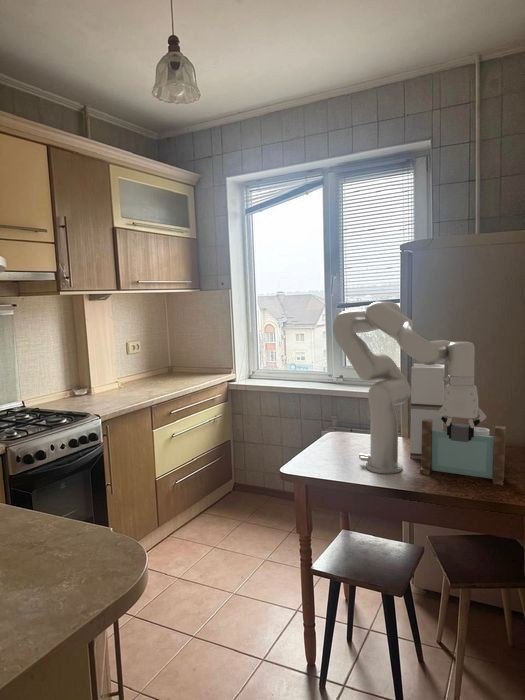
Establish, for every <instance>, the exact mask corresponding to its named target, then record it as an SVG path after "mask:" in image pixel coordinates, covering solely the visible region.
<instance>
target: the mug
mask: <svg viewBox="0 0 525 700" xmlns="http://www.w3.org/2000/svg"><path fill="white" fill-rule="evenodd" d="M474 434H475V435H484V436H490V429H489V428H486V427H481V426H480V427H477V426H475V427H474Z"/></svg>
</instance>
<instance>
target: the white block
mask: <svg viewBox="0 0 525 700" xmlns="http://www.w3.org/2000/svg"><path fill="white" fill-rule="evenodd" d="M445 367H446V365H445V364H435V365H425V364H422V363H413V366H411V373H410V374H411V377H410V378H411V383H410V388H411V396H410V433H409V435H410V437H409V438H410V442H409V443H410V445H409V448H410V449H409V458H410V459H414V460H421V453H422V420H423V419H427V420H433V421H432V431H433V430H436V431H444V422H443V421H442V420H441V419H440V418H439V417H438V416H437V415H436V413H437V411H438V410H439V409H440V408H441V407H442V406H443V398H444V390H445V381H443V377H445V371H446V370H445ZM442 414H443V412H442Z"/></svg>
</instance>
